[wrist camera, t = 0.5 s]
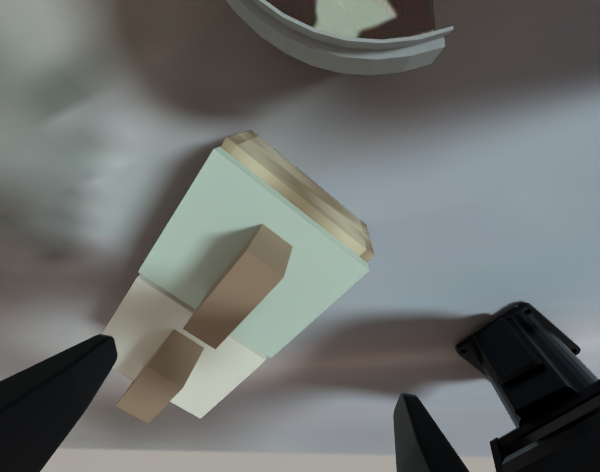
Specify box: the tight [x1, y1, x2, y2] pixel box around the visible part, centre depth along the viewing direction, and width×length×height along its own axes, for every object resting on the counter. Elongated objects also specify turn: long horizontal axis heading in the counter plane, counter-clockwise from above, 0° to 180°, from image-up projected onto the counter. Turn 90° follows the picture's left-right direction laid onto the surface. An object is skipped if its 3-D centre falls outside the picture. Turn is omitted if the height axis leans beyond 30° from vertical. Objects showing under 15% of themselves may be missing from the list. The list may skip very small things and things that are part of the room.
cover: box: [138, 147, 369, 358], centre depth 15 cm, size 10×9×4 cm
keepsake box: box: [221, 130, 374, 262], centre depth 21 cm, size 10×20×4 cm, turn 142°
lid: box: [102, 274, 267, 424], centre depth 19 cm, size 10×9×4 cm
